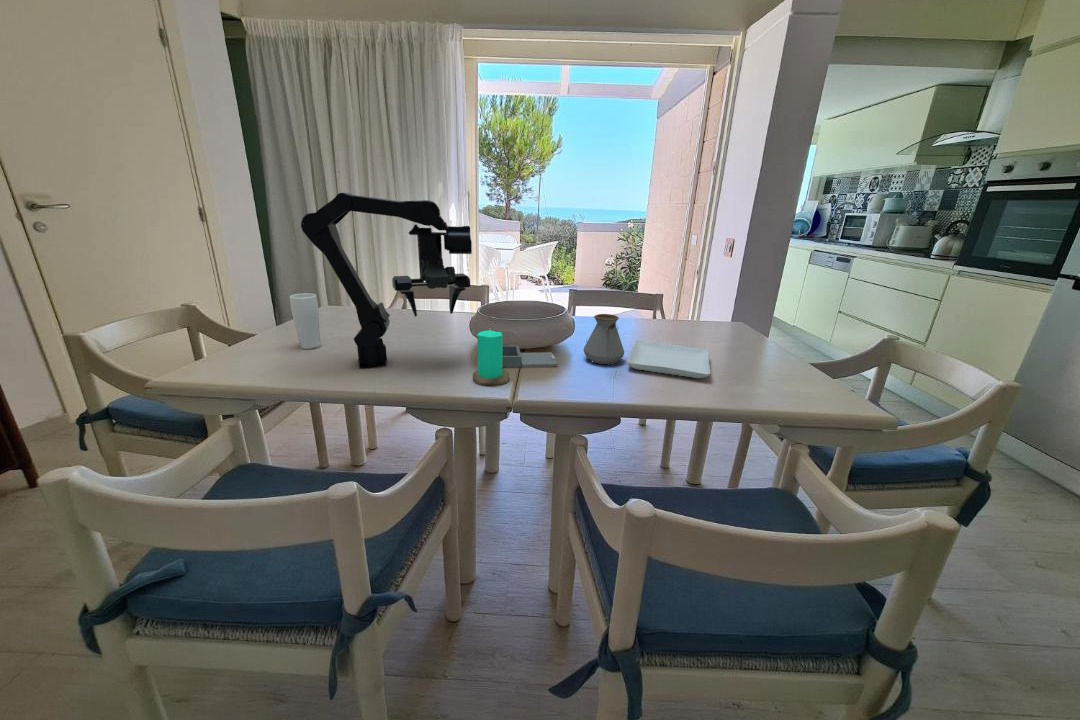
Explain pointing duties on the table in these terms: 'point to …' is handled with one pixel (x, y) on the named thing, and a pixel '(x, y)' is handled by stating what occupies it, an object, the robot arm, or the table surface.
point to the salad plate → (670, 359)
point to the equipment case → (526, 358)
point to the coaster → (491, 382)
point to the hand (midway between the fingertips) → (433, 314)
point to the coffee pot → (604, 341)
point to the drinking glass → (306, 319)
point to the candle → (490, 354)
